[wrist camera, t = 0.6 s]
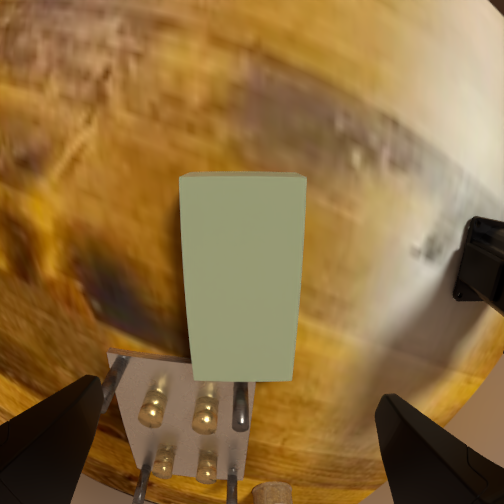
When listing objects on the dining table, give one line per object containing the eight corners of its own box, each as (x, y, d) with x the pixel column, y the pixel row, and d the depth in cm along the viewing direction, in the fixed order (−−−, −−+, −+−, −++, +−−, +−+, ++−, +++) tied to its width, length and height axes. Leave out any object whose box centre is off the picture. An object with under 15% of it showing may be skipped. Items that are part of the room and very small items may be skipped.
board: (192, 171, 18) (179, 177, 14) (294, 171, 18) (306, 177, 15) (201, 344, 22) (193, 380, 18) (284, 344, 22) (291, 380, 18)
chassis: (111, 344, 22) (81, 396, 16) (256, 360, 22) (260, 420, 16) (139, 461, 26) (128, 505, 21) (242, 473, 27) (243, 519, 21)
